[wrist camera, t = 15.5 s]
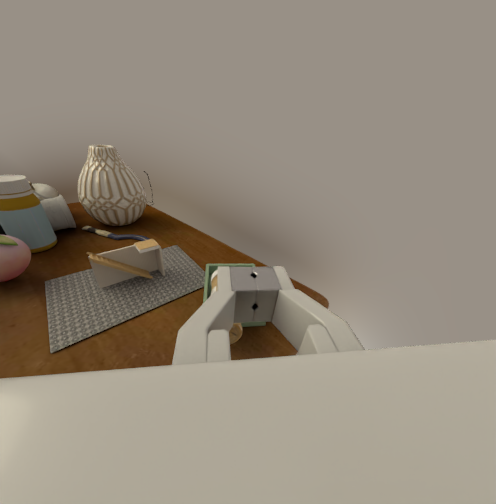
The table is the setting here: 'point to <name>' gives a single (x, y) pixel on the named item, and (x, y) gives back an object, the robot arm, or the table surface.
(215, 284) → the sprinkles bottle
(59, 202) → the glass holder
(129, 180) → the vase
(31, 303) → the table surface
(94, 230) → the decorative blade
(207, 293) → the tray
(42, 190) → the decorative object
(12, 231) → the bottle
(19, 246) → the decorative fruit
